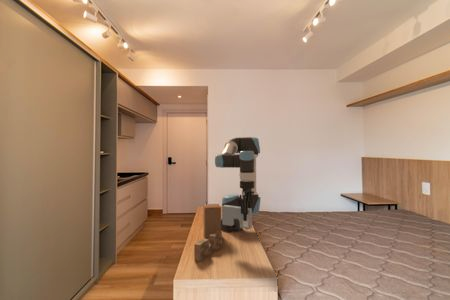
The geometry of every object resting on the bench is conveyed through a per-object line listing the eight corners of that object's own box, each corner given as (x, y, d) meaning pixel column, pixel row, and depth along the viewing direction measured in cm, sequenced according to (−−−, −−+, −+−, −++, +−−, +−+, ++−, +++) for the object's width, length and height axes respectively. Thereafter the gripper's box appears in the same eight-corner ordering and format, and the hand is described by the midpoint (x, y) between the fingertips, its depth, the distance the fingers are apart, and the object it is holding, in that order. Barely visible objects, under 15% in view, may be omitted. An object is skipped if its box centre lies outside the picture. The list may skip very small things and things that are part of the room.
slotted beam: (217, 244, 132) (217, 230, 132) (221, 245, 131) (221, 231, 131) (194, 260, 113) (194, 244, 113) (199, 261, 112) (199, 245, 112)
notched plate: (225, 222, 127) (224, 204, 127) (251, 227, 120) (251, 208, 120) (222, 224, 125) (222, 206, 125) (249, 229, 117) (249, 209, 117)
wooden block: (221, 240, 139) (221, 207, 140) (204, 241, 138) (204, 207, 138) (218, 234, 149) (218, 203, 149) (203, 235, 147) (203, 204, 148)
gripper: (246, 178, 128) (246, 220, 128) (233, 181, 114) (233, 229, 114) (259, 179, 125) (259, 222, 125) (247, 182, 111) (247, 231, 110)
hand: (247, 225), depth 119 cm, fingers closed on notched plate, 3 cm apart
